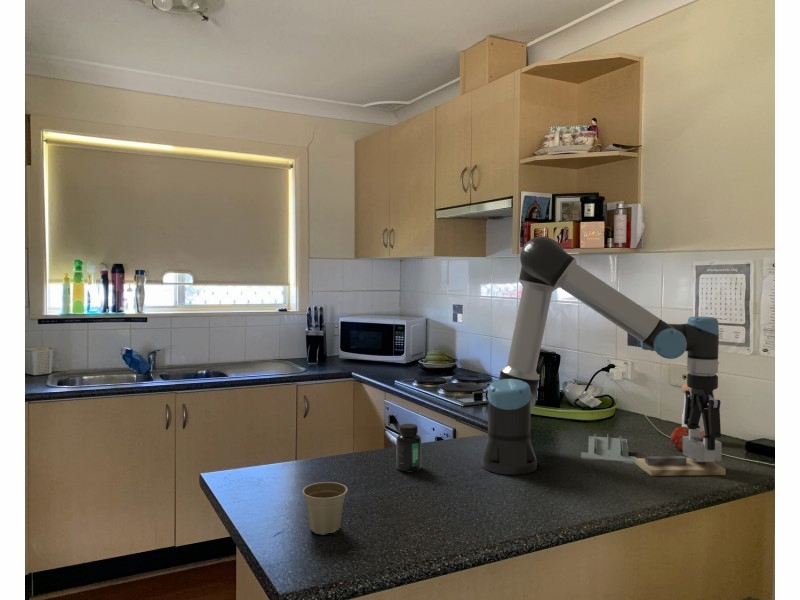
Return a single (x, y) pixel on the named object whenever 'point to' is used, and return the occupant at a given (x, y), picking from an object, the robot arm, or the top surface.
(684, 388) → the pepper shaker
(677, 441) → the pomegranate
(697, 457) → the grey square socket block
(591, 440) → the metal bracket
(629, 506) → the top surface
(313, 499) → the flower pot
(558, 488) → the top surface
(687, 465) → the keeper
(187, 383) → the top surface
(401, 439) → the supplement bottle
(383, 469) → the top surface
